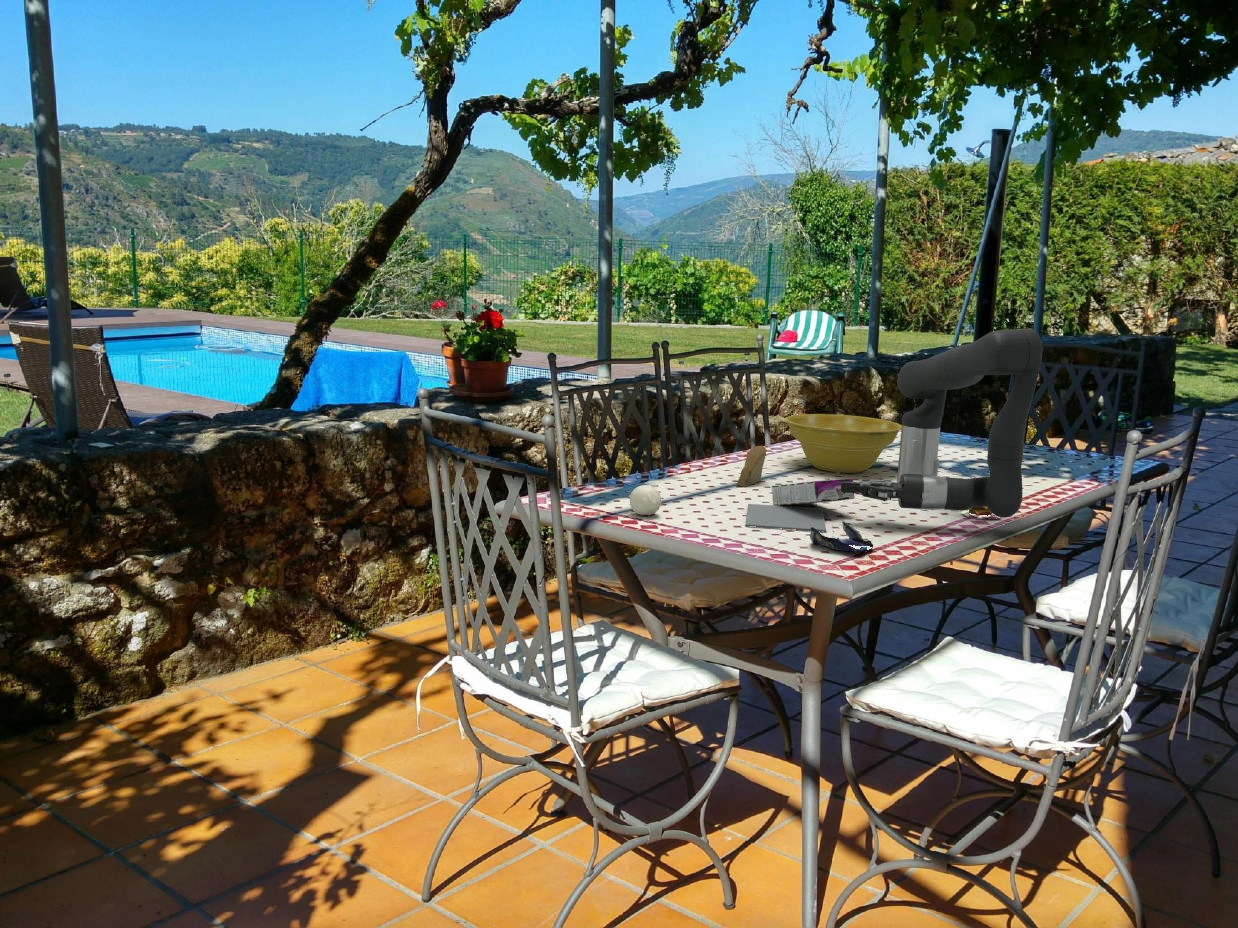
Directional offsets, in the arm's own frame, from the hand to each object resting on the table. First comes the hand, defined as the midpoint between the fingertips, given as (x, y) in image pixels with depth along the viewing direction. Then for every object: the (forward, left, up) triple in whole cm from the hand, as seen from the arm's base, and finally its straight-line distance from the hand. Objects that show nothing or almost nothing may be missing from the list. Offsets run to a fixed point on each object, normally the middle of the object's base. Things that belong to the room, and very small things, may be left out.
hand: (841, 486), depth 226 cm
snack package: (+1, +22, -9) cm, 24 cm away
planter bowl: (-4, -64, -8) cm, 65 cm away
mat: (+12, 0, -8) cm, 14 cm away
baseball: (+42, +6, -8) cm, 43 cm away
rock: (+21, -36, -8) cm, 43 cm away
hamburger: (-33, -16, -9) cm, 38 cm away
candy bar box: (+1, -3, -2) cm, 3 cm away
